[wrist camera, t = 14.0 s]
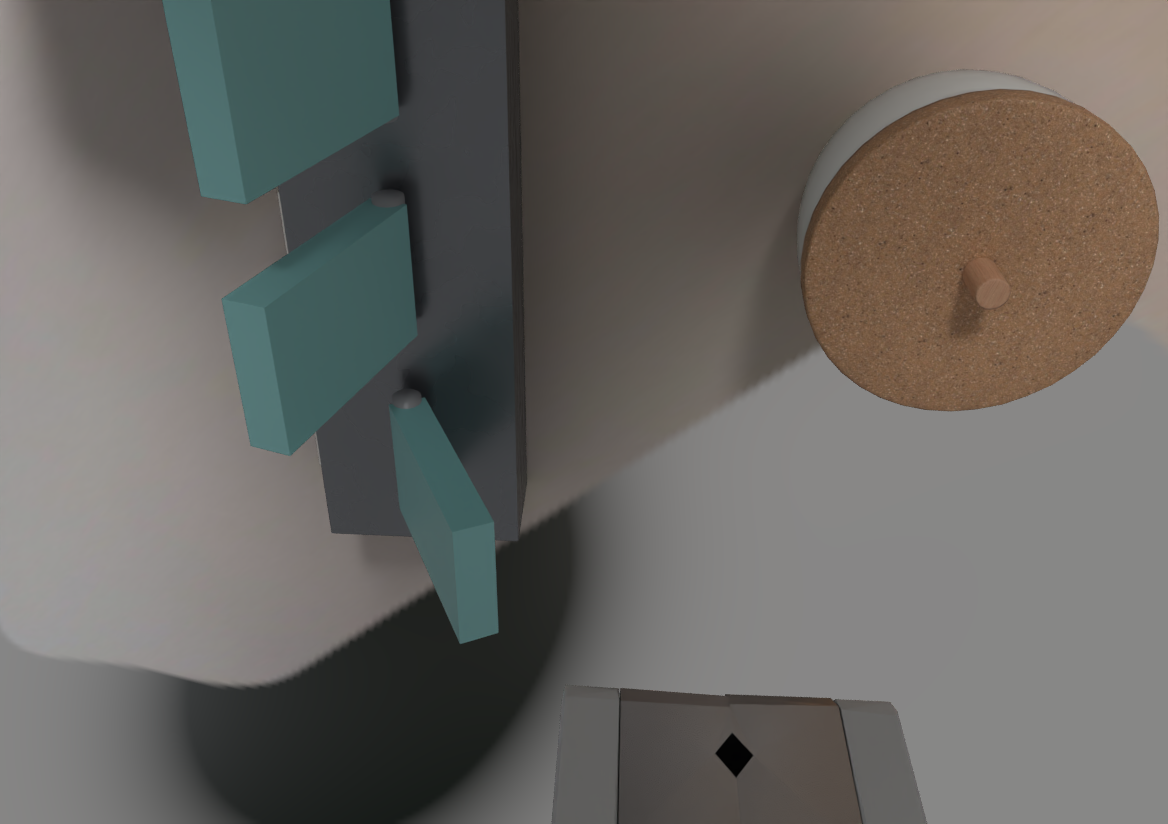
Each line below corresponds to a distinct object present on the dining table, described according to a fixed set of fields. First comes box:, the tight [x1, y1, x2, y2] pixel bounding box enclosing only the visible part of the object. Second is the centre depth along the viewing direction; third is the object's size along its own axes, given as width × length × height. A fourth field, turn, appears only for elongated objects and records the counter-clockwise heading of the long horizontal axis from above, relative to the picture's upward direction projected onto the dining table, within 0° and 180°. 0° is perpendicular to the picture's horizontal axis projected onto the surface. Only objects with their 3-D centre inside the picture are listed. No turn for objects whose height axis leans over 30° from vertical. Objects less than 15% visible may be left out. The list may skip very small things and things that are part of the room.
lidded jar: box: [797, 69, 1159, 411], centre depth 35 cm, size 11×11×9 cm
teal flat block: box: [389, 389, 498, 644], centre depth 38 cm, size 5×1×9 cm, turn 179°
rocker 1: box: [162, 0, 399, 204], centre depth 29 cm, size 5×1×9 cm, turn 179°
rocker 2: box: [222, 189, 418, 456], centre depth 33 cm, size 5×1×8 cm, turn 179°
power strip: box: [277, 0, 527, 541], centre depth 38 cm, size 27×8×4 cm, turn 179°
